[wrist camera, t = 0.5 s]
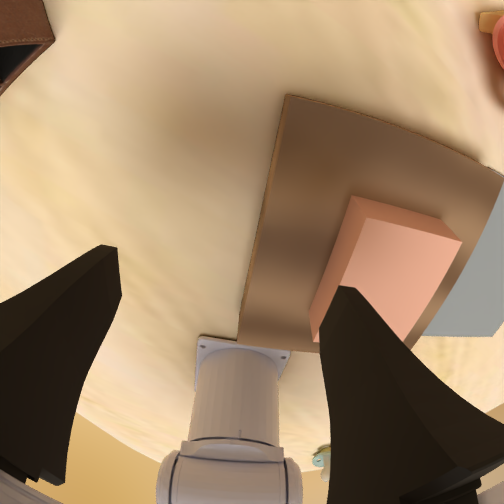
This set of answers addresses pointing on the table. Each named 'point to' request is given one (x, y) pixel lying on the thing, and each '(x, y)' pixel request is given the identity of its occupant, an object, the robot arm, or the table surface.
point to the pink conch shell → (494, 31)
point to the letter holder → (21, 37)
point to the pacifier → (323, 462)
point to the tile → (387, 262)
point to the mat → (477, 286)
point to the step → (335, 205)
